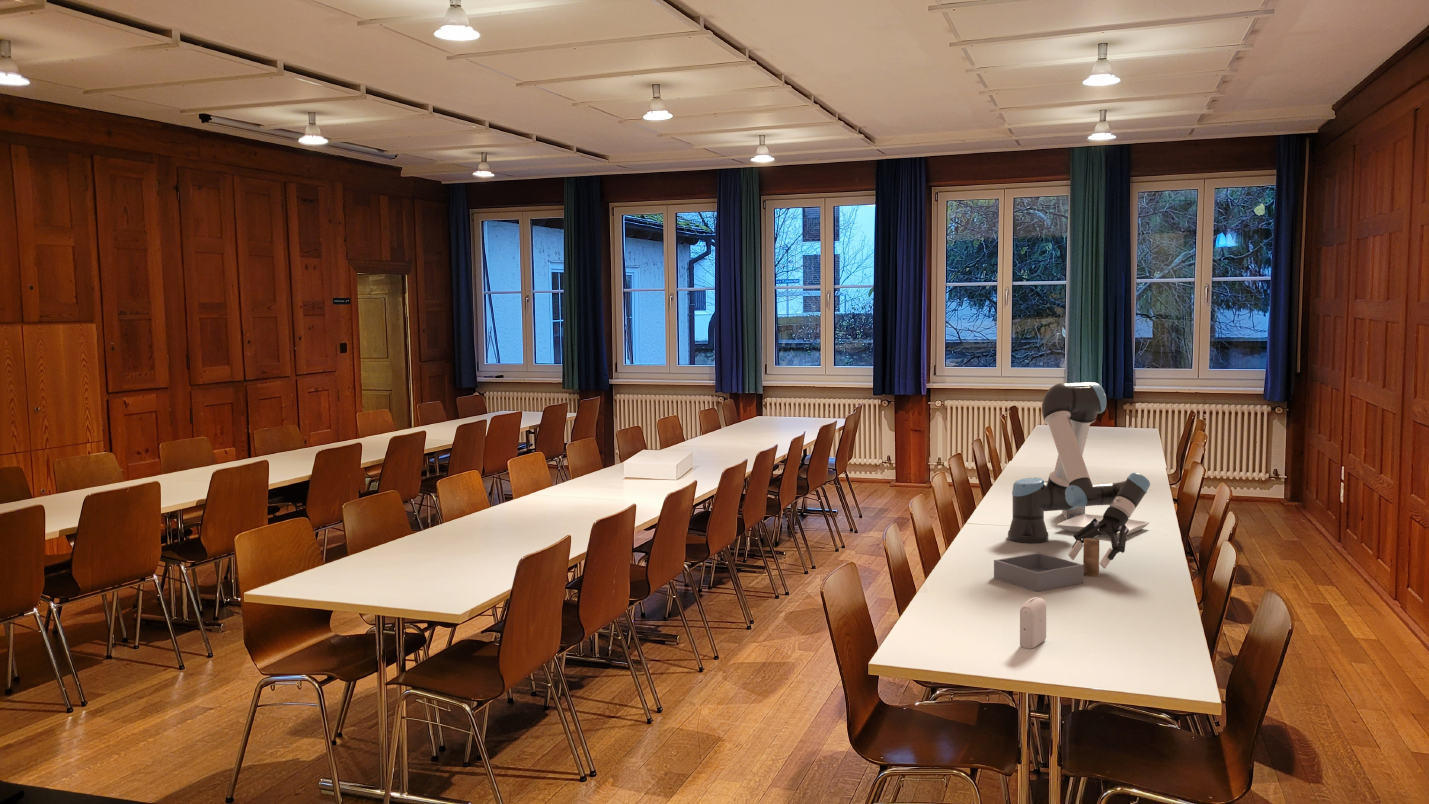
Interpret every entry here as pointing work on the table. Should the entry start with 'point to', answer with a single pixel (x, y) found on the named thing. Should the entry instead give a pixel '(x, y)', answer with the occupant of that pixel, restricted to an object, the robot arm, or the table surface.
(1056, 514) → the table surface
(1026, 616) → the photo printer
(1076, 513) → the hard drive box
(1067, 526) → the square plate
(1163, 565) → the table surface
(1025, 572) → the tote
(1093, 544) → the walnut cylinder
